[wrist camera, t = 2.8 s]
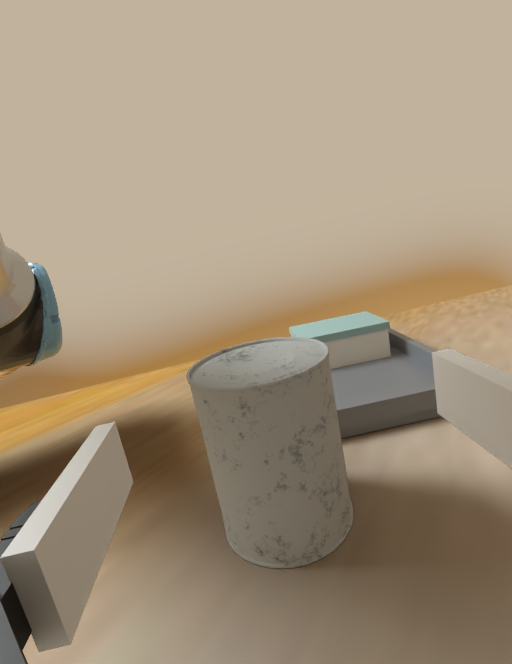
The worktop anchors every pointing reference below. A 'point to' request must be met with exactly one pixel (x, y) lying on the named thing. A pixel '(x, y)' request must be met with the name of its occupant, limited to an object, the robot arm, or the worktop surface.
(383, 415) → the tote tray
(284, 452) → the speckled grey can
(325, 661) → the worktop surface
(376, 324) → the teal sponge
